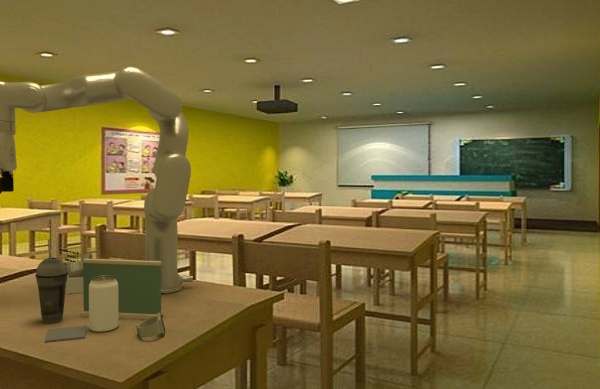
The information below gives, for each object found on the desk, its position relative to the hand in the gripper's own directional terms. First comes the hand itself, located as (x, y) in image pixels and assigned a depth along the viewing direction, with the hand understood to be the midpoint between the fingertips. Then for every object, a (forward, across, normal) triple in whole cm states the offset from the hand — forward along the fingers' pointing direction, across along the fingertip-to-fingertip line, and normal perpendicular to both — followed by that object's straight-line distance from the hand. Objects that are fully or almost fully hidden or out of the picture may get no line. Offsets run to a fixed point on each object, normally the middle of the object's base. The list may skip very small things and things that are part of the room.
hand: (1, 192), depth 135 cm
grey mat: (+31, -29, -22) cm, 47 cm away
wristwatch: (+31, -32, -40) cm, 60 cm away
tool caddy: (+31, +22, -14) cm, 40 cm away
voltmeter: (+31, +23, -14) cm, 41 cm away
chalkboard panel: (+31, -17, -32) cm, 48 cm away
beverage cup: (+31, -18, -16) cm, 39 cm away
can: (+31, -26, -29) cm, 50 cm away
